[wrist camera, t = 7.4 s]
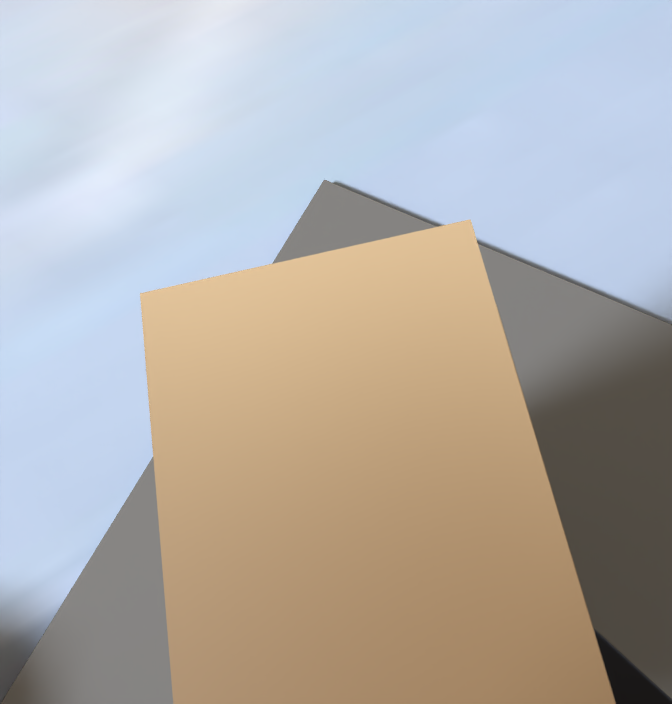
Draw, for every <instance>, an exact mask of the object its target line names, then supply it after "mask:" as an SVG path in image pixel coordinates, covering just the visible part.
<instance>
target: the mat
mask: <svg viewBox="0 0 672 704" xmlns="http://www.w3.org/2000/svg"><path fill="white" fill-rule="evenodd" d="M435 227H437V226H434V225H432V224H430V223H427V222H425V221H422V220H420V219H418V218H415V217H413V216H410V215H408V214H406V213H403V212H401V211H398V210H396V209H394V208H391V207H389V206H386V205H384V204H382V203H379V202H377V201H375V200H372V199H370V198H367V197H365V196H363V195H360V194H358V193H355V192H353V191H351V190H348V189H346V188H343V187H341V186H339V185H336V184H334V183H331V182H329V181H327V180H324V181H323V182H322V184H321V186H320V187H319V189H318V191H317V192H316V194H315V195H314V197H313V199H312V200H311V202H310V203H309V205H308V207H307V208H306V210H305V212H304V213H303V215H302V216H301V218H300V220H299V221H298V223H297V225H296V226H295V228H294V229H293V231H292V233H291V234H290V236H289V237H288V239H287V241H286V242H285V244H284V246H283V247H282V249H281V250H280V252H279V254H278V255H277V257H276V259H275V260H274V262H273V263H272V264H274V263H278V262H283V261H287V260H292V259H296V258H301V257H305V256H310V255H314V254H319V253H323V252H327V251H332V250H336V249H341V248H345V247H350V246H354V245H359V244H363V243H368V242H372V241H377V240H381V239H385V238H390V237H394V236H399V235H403V234H408V233H412V232H417V231H421V230H426V229H430V228H435ZM478 246H479V250H480V253H481V256H482V260H483V263H484V266H485V270H486V273H487V276H488V280H489V283H490V286H491V290H492V293H493V296H494V300H495V303H496V304H497V308H498V311H499V314H500V318H501V321H502V324H503V328H504V331H505V334H506V338H507V341H508V344H509V348H510V351H511V354H512V358H513V361H514V364H515V368H516V371H517V374H518V378H519V381H520V384H521V388H522V391H523V394H524V398H525V401H526V404H527V408H528V411H529V414H530V418H531V421H532V424H533V428H534V431H535V434H536V438H537V441H538V444H539V448H540V451H541V454H542V458H543V461H544V464H545V468H546V471H547V474H548V478H549V481H550V484H551V488H552V491H553V494H554V498H555V501H556V504H557V508H558V511H559V514H560V518H561V521H562V524H563V528H564V531H565V534H566V538H567V541H568V544H569V548H570V551H571V554H572V558H573V561H574V564H575V568H576V571H577V574H578V578H579V581H580V584H581V588H582V591H583V594H584V598H585V601H586V604H587V608H588V611H589V614H590V618H591V621H592V624H593V628H595V629H596V630H597V631H598V632H599V633H600V634H601V635H602V636H603V637H604V638H606V639H607V640H608V641H609V642H610V643H611V644H612V645H613V646H614V647H615V648H616V649H618V650H619V651H620V652H621V653H622V654H623V655H624V656H625V657H626V658H627V659H628V660H630V661H631V662H632V663H633V664H634V665H635V666H636V667H637V668H638V669H639V670H641V671H642V672H643V673H644V674H645V675H646V676H647V677H648V678H649V679H650V680H651V681H653V682H654V683H655V684H656V685H657V686H658V687H659V688H660V689H661V690H662V691H664V692H665V693H666V694H667V695H668V696H669V697H670V698H671V699H672V325H671V324H669V323H667V322H664V321H662V320H660V319H657V318H655V317H652V316H650V315H648V314H645V313H643V312H640V311H638V310H636V309H633V308H631V307H628V306H626V305H624V304H621V303H619V302H616V301H614V300H612V299H609V298H607V297H604V296H602V295H600V294H597V293H595V292H592V291H590V290H588V289H585V288H583V287H580V286H578V285H576V284H573V283H571V282H569V281H566V280H564V279H561V278H559V277H557V276H554V275H552V274H549V273H547V272H545V271H542V270H540V269H537V268H535V267H533V266H530V265H528V264H525V263H523V262H521V261H518V260H516V259H513V258H511V257H509V256H506V255H504V254H501V253H499V252H497V251H494V250H492V249H489V248H487V247H485V246H482V245H480V244H478ZM1 704H173V693H172V681H171V668H170V656H169V644H168V631H167V619H166V607H165V594H164V582H163V570H162V557H161V545H160V532H159V520H158V508H157V495H156V483H155V471H154V458H152V459H151V461H150V463H149V464H148V466H147V467H146V469H145V471H144V472H143V474H142V476H141V477H140V479H139V480H138V482H137V484H136V485H135V487H134V489H133V490H132V492H131V493H130V495H129V497H128V498H127V500H126V501H125V503H124V505H123V506H122V508H121V510H120V511H119V513H118V514H117V516H116V518H115V519H114V521H113V523H112V524H111V526H110V527H109V529H108V531H107V532H106V534H105V535H104V537H103V539H102V540H101V542H100V544H99V545H98V547H97V548H96V550H95V552H94V553H93V555H92V557H91V558H90V560H89V561H88V563H87V565H86V566H85V568H84V569H83V571H82V573H81V574H80V576H79V578H78V579H77V581H76V582H75V584H74V586H73V587H72V589H71V591H70V592H69V594H68V595H67V597H66V599H65V600H64V602H63V604H62V605H61V607H60V608H59V610H58V612H57V613H56V615H55V616H54V618H53V620H52V621H51V623H50V625H49V626H48V628H47V629H46V631H45V633H44V634H43V636H42V638H41V639H40V641H39V642H38V644H37V646H36V647H35V649H34V650H33V652H32V654H31V655H30V657H29V659H28V660H27V662H26V663H25V665H24V667H23V668H22V670H21V672H20V673H19V675H18V676H17V678H16V680H15V681H14V683H13V684H12V686H11V688H10V689H9V691H8V693H7V694H6V696H5V697H4V699H3V701H2V702H1Z"/></svg>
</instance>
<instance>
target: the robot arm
mask: <svg viewBox="0 0 672 704" xmlns="http://www.w3.org/2000/svg"><path fill="white" fill-rule="evenodd" d="M594 631H595V634H596V638H597V641H598V644H599V648H600V651H601V654H602V658H603V661H604V664H605V668H606V671H607V674H608V678H609V681H610V684H611V688H612V691H613V694H614V698H615V701H616V704H672V699H671V698H670V697H669V696H668V695H667V694H666V693H665V692H664V691H662V690H661V689H660V688H659V687H658V686H657V685H656V684H655V683H654V682H653V681H651V680H650V679H649V678H648V677H647V676H646V675H645V674H644V673H643V672H642V671H641V670H639V669H638V668H637V667H636V666H635V665H634V664H633V663H632V662H631V661H630V660H628V659H627V658H626V657H625V656H624V655H623V654H622V653H621V652H620V651H619V650H618V649H616V648H615V647H614V646H613V645H612V644H611V643H610V642H609V641H608V640H607V639H606V638H604V637H603V636H602V635H601V634H600V633H599V632H598V631H597V630H596V629H595V628H594Z"/></svg>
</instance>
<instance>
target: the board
mask: <svg viewBox="0 0 672 704" xmlns="http://www.w3.org/2000/svg"><path fill="white" fill-rule="evenodd" d="M140 298H141V310H142V322H143V335H144V347H145V359H146V372H147V384H148V397H149V409H150V421H151V434H152V446H153V458H154V471H155V483H156V495H157V508H158V520H159V532H160V545H161V557H162V570H163V582H164V594H165V607H166V619H167V631H168V644H169V656H170V668H171V681H172V693H173V704H616V701H615V698H614V694H613V691H612V688H611V684H610V681H609V678H608V674H607V671H606V668H605V664H604V661H603V658H602V654H601V651H600V648H599V644H598V641H597V638H596V634H595V631H594V628H593V624H592V621H591V618H590V614H589V611H588V608H587V604H586V601H585V598H584V594H583V591H582V588H581V584H580V581H579V578H578V574H577V571H576V568H575V564H574V561H573V558H572V554H571V551H570V548H569V544H568V541H567V538H566V534H565V531H564V528H563V524H562V521H561V518H560V514H559V511H558V508H557V504H556V501H555V498H554V494H553V491H552V488H551V484H550V481H549V478H548V474H547V471H546V468H545V464H544V461H543V458H542V454H541V451H540V448H539V444H538V441H537V438H536V434H535V431H534V428H533V424H532V421H531V418H530V414H529V411H528V408H527V404H526V401H525V398H524V394H523V391H522V388H521V384H520V381H519V378H518V374H517V371H516V368H515V364H514V361H513V358H512V354H511V351H510V348H509V344H508V341H507V338H506V334H505V331H504V328H503V324H502V321H501V318H500V314H499V311H498V308H497V304H496V303H495V300H494V296H493V293H492V290H491V286H490V283H489V280H488V276H487V273H486V270H485V266H484V263H483V260H482V256H481V253H480V250H479V246H478V243H477V240H476V236H475V233H474V230H473V226H472V223H471V220H466V221H461V222H457V223H452V224H448V225H443V226H439V227H435V228H430V229H426V230H421V231H417V232H412V233H408V234H403V235H399V236H394V237H390V238H385V239H381V240H377V241H372V242H368V243H363V244H359V245H354V246H350V247H345V248H341V249H336V250H332V251H327V252H323V253H319V254H314V255H310V256H305V257H301V258H296V259H292V260H287V261H283V262H278V263H274V264H269V265H265V266H261V267H256V268H252V269H247V270H243V271H238V272H234V273H229V274H225V275H220V276H216V277H211V278H207V279H203V280H198V281H194V282H189V283H185V284H180V285H176V286H171V287H167V288H162V289H158V290H153V291H149V292H145V293H140Z"/></svg>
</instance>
